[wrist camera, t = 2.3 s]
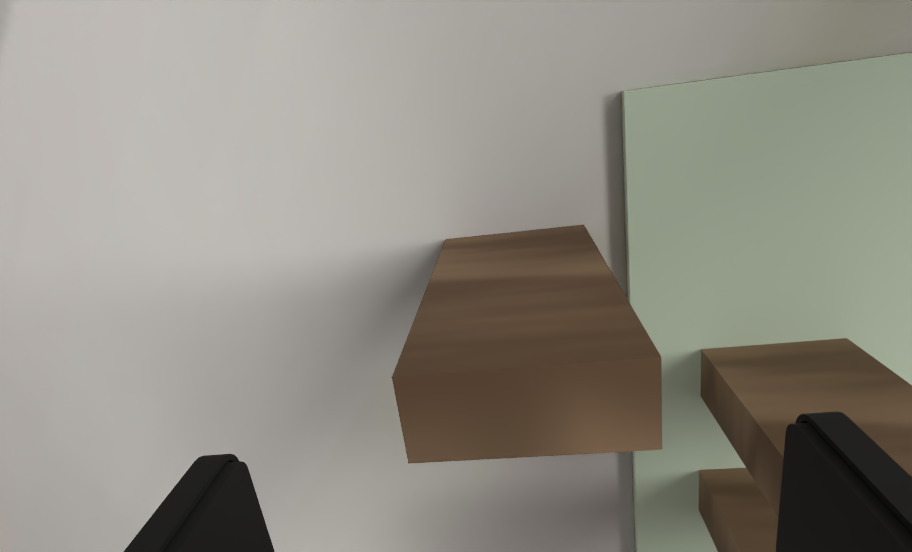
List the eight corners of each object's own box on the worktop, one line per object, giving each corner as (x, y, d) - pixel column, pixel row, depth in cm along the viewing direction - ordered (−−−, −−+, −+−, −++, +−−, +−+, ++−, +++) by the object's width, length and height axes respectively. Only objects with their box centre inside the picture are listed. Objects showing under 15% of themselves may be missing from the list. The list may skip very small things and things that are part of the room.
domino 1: (586, 277, 24) (661, 449, 12) (452, 289, 24) (408, 463, 13) (583, 224, 23) (661, 357, 12) (445, 239, 24) (391, 376, 12)
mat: (850, 738, 32) (855, 748, 31) (641, 736, 33) (643, 745, 33) (958, 46, 20) (969, 44, 19) (621, 91, 21) (624, 91, 21)
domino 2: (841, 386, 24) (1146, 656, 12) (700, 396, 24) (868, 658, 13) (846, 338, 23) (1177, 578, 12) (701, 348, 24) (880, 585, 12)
